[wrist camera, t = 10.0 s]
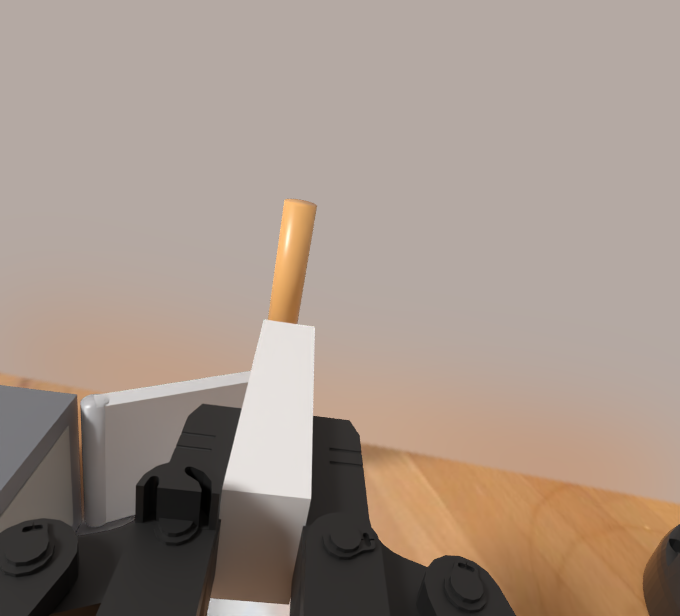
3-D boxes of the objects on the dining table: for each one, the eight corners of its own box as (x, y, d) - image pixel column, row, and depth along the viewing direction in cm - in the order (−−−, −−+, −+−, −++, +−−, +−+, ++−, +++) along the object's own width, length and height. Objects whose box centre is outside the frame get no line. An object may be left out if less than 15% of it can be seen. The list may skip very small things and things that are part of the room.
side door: (82, 509, 25) (70, 185, 19) (265, 460, 31) (307, 199, 25) (86, 533, 24) (75, 196, 18) (276, 477, 30) (322, 208, 23)
